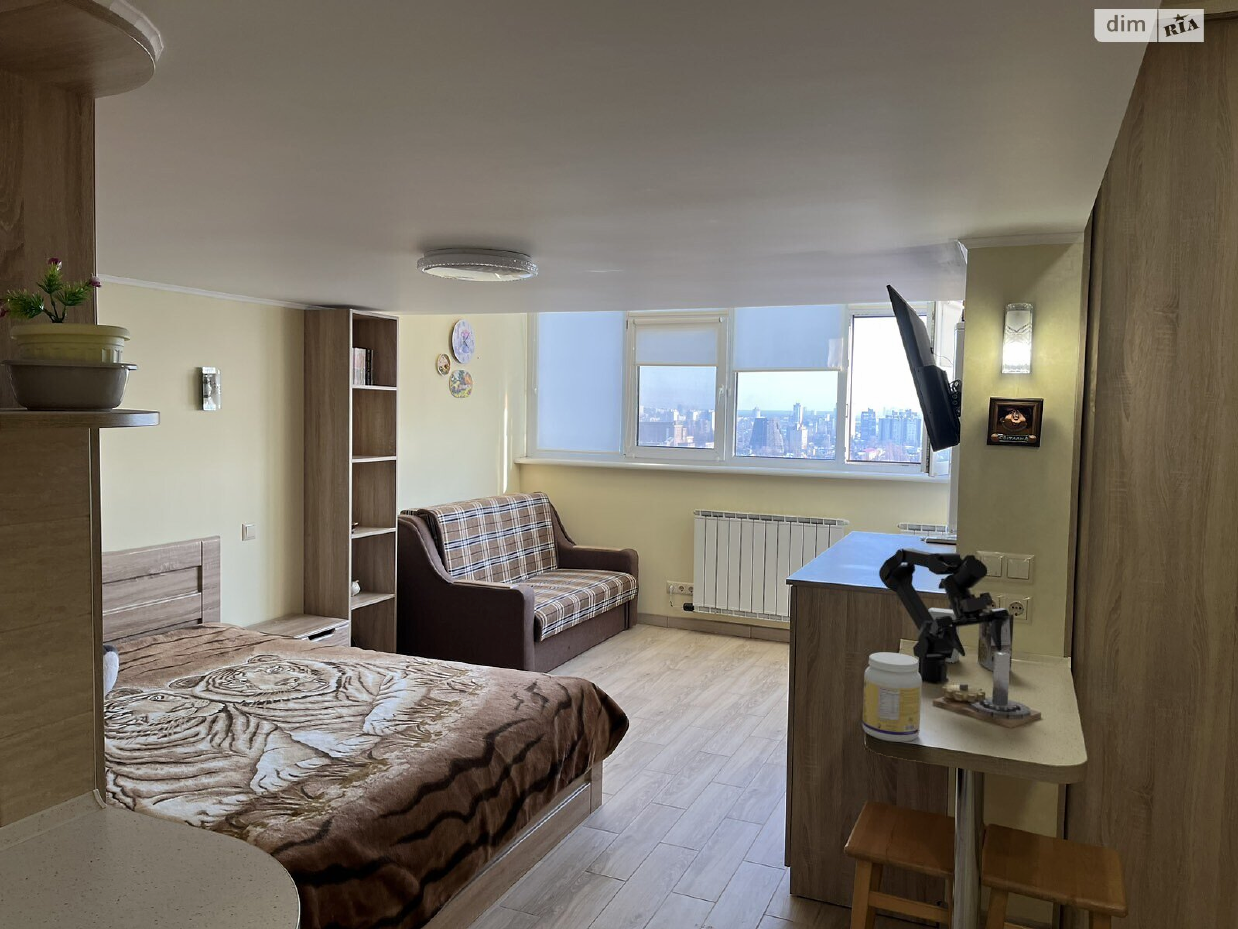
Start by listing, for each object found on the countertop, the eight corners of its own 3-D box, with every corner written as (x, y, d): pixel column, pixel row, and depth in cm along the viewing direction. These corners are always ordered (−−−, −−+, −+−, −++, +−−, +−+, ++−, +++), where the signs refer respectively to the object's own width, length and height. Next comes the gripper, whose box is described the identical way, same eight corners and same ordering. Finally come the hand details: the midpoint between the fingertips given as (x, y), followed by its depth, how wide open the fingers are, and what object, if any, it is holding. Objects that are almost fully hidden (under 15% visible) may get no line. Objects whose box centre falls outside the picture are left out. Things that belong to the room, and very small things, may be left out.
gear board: (929, 703, 216) (930, 684, 216) (960, 694, 224) (961, 675, 224) (1010, 728, 199) (1011, 706, 199) (1040, 717, 208) (1041, 697, 207)
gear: (980, 710, 208) (982, 654, 207) (986, 703, 214) (989, 648, 213) (1013, 717, 204) (1015, 659, 203) (1018, 709, 210) (1021, 653, 209)
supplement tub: (865, 721, 202) (868, 648, 201) (921, 729, 197) (924, 655, 196) (858, 738, 190) (861, 661, 190) (917, 747, 186) (920, 668, 185)
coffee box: (1012, 671, 248) (1014, 615, 247) (989, 670, 248) (991, 614, 247) (998, 663, 257) (1001, 608, 256) (976, 662, 257) (979, 607, 257)
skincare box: (959, 659, 259) (961, 610, 259) (953, 664, 254) (956, 613, 254) (929, 655, 264) (931, 606, 264) (924, 659, 259) (926, 609, 259)
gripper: (932, 587, 219) (955, 645, 210) (1005, 577, 220) (1030, 634, 211) (921, 607, 228) (942, 663, 219) (991, 597, 229) (1014, 652, 220)
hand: (982, 653), depth 217 cm, fingers open, 9 cm apart
